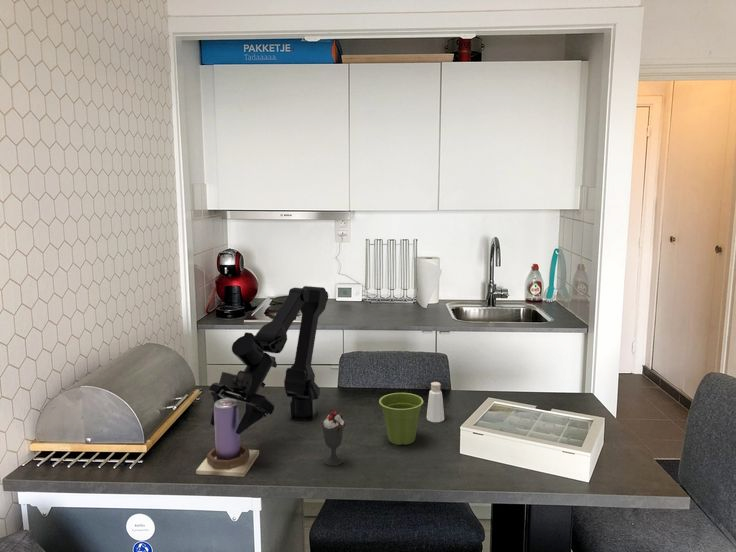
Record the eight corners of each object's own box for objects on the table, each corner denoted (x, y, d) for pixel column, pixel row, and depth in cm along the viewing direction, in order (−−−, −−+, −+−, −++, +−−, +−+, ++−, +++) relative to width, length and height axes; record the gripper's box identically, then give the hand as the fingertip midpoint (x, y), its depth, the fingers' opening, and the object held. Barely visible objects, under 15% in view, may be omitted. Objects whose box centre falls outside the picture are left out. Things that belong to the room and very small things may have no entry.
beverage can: (239, 464, 149) (236, 406, 146) (214, 465, 148) (211, 407, 146) (242, 453, 155) (239, 397, 152) (218, 454, 154) (215, 398, 151)
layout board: (259, 453, 157) (258, 442, 156) (244, 476, 145) (243, 465, 144) (214, 451, 158) (214, 440, 158) (196, 474, 146) (195, 462, 146)
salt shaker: (423, 421, 176) (424, 385, 174) (429, 414, 181) (429, 379, 179) (441, 423, 174) (442, 387, 172) (446, 416, 179) (447, 381, 177)
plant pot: (387, 428, 171) (386, 390, 169) (427, 434, 167) (428, 395, 165) (373, 446, 160) (373, 405, 158) (416, 452, 156) (416, 411, 154)
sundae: (327, 470, 148) (325, 412, 145) (316, 458, 154) (315, 402, 151) (351, 463, 151) (350, 406, 148) (340, 453, 157) (339, 398, 154)
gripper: (212, 352, 156) (179, 406, 149) (264, 365, 145) (231, 424, 138) (236, 373, 164) (206, 425, 157) (287, 386, 153) (258, 443, 146)
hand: (224, 429), depth 149 cm, fingers open, 9 cm apart
